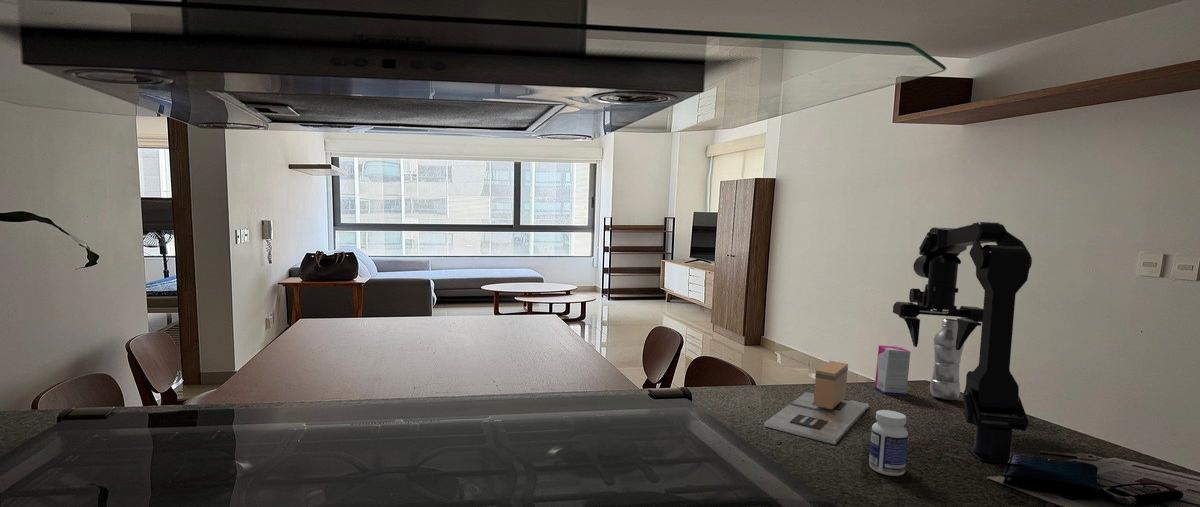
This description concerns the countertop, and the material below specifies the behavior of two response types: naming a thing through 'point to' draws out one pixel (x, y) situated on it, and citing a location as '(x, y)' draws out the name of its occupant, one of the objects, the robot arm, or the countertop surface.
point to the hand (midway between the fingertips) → (936, 348)
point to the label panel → (817, 418)
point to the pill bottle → (889, 443)
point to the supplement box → (892, 370)
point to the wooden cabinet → (830, 384)
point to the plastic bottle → (946, 362)
